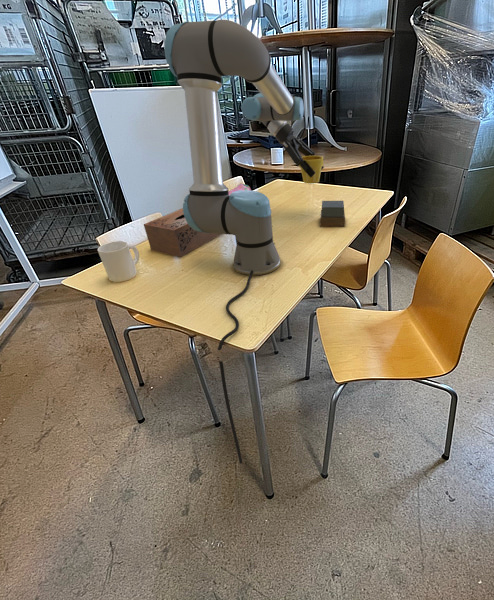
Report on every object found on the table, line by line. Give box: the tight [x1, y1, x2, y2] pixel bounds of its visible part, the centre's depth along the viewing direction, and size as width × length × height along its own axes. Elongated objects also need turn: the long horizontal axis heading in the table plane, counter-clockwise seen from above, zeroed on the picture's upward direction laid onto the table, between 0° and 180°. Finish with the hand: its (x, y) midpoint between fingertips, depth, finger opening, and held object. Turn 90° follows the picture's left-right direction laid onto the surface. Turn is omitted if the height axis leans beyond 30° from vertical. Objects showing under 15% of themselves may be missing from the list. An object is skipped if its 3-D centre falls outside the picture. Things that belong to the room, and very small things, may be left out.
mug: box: [97, 240, 140, 283], centre depth 105 cm, size 12×8×10 cm
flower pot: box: [298, 155, 324, 185], centre depth 140 cm, size 10×10×10 cm
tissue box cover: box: [143, 207, 222, 258], centre depth 127 cm, size 26×14×10 cm, turn 154°
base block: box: [319, 209, 346, 228], centre depth 141 cm, size 10×10×4 cm
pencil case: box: [229, 182, 252, 196], centre depth 162 cm, size 21×9×9 cm, turn 162°
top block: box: [321, 200, 345, 217], centre depth 139 cm, size 9×9×4 cm
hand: (317, 172), depth 140 cm, fingers closed on flower pot, 10 cm apart
